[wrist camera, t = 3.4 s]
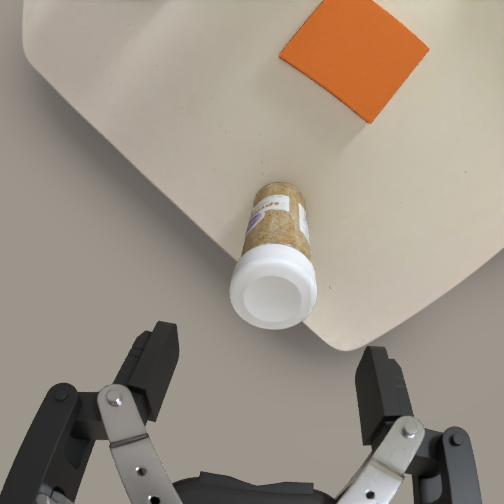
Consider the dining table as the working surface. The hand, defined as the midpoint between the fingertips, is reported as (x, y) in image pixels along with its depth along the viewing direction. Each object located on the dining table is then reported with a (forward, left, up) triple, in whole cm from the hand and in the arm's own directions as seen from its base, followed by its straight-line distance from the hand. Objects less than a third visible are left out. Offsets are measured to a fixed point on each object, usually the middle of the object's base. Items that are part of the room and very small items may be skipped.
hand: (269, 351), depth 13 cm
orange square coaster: (-3, +15, -17) cm, 23 cm away
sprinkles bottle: (0, 0, -17) cm, 17 cm away
